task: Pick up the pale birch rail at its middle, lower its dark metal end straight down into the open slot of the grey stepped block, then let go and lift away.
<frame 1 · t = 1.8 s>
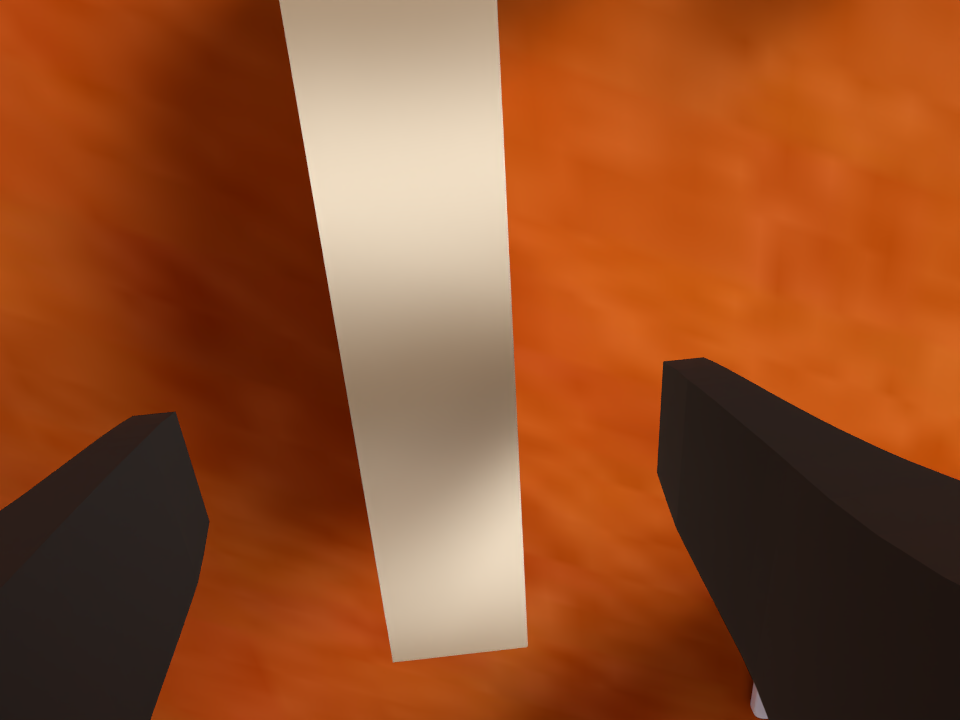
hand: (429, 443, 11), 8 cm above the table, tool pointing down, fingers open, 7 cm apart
birch rail: (424, 262, 19), on the table
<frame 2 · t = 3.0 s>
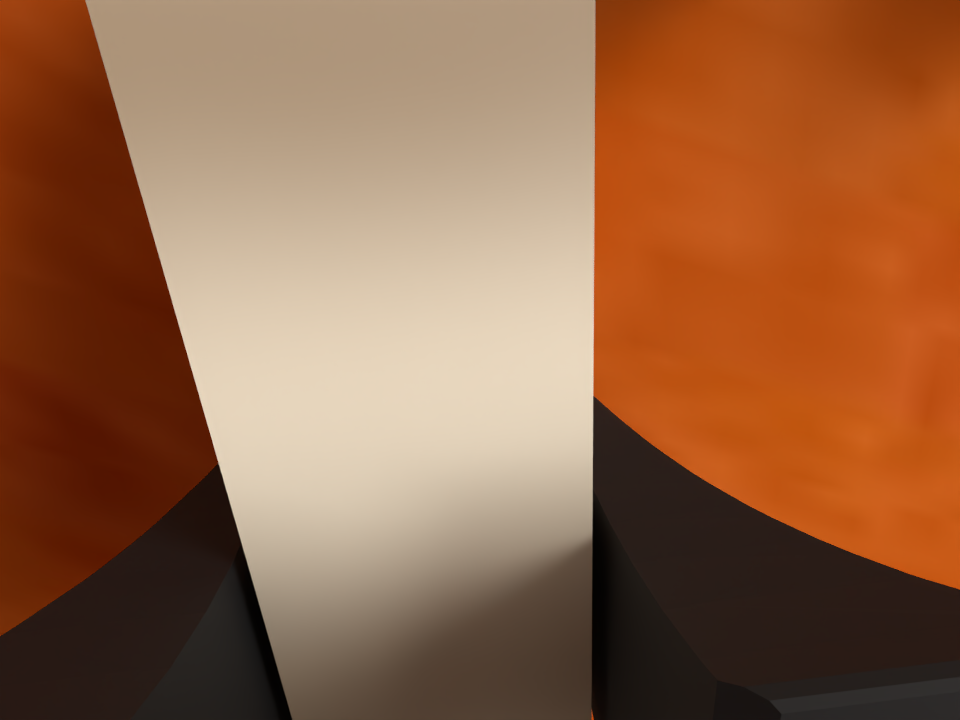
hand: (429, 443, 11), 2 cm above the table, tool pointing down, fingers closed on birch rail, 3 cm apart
birch rail: (428, 402, 13), on the table, touching gripper
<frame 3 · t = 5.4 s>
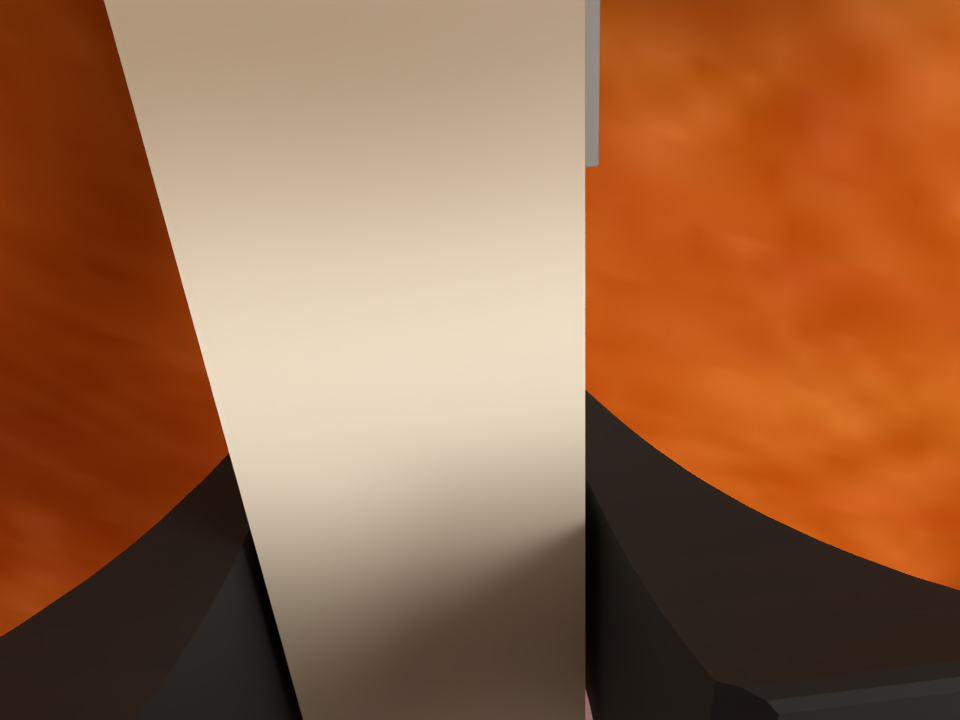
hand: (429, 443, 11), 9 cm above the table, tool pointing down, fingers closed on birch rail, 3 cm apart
birch rail: (427, 388, 13), point 7 cm above the table, touching gripper
grey stepped block: (397, 28, 17), on the table
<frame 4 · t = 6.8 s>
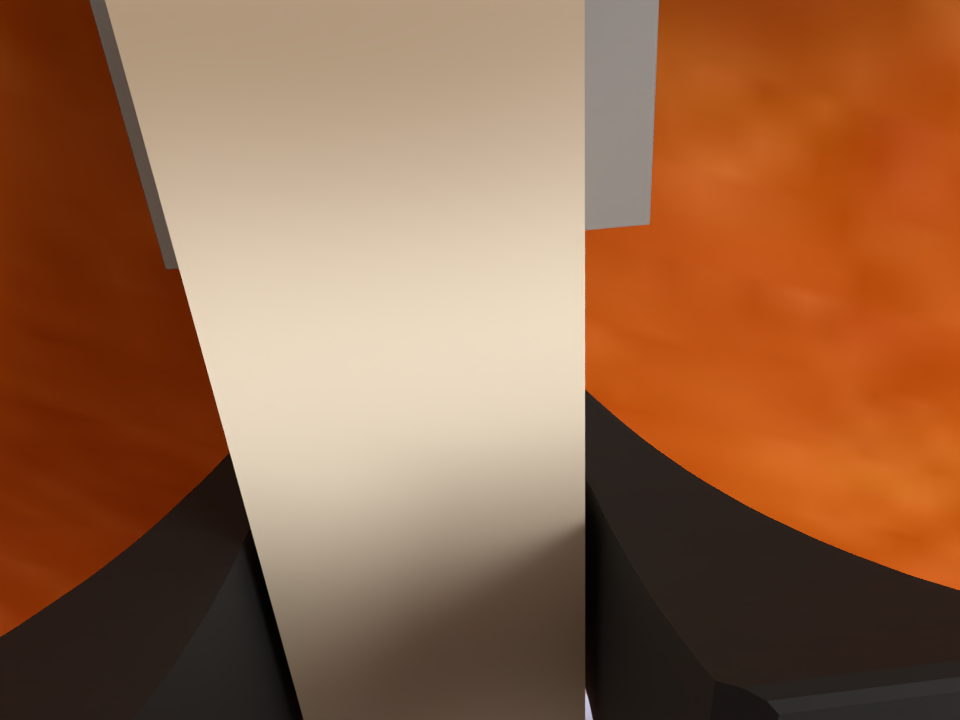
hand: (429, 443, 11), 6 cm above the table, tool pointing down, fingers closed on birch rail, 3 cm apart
birch rail: (427, 387, 13), point 4 cm above the table, touching gripper
grey stepped block: (395, 46, 14), on the table
when the fingers open (2 cm above the table, at t = 7.9 s): birch rail stays where it is, on the table.
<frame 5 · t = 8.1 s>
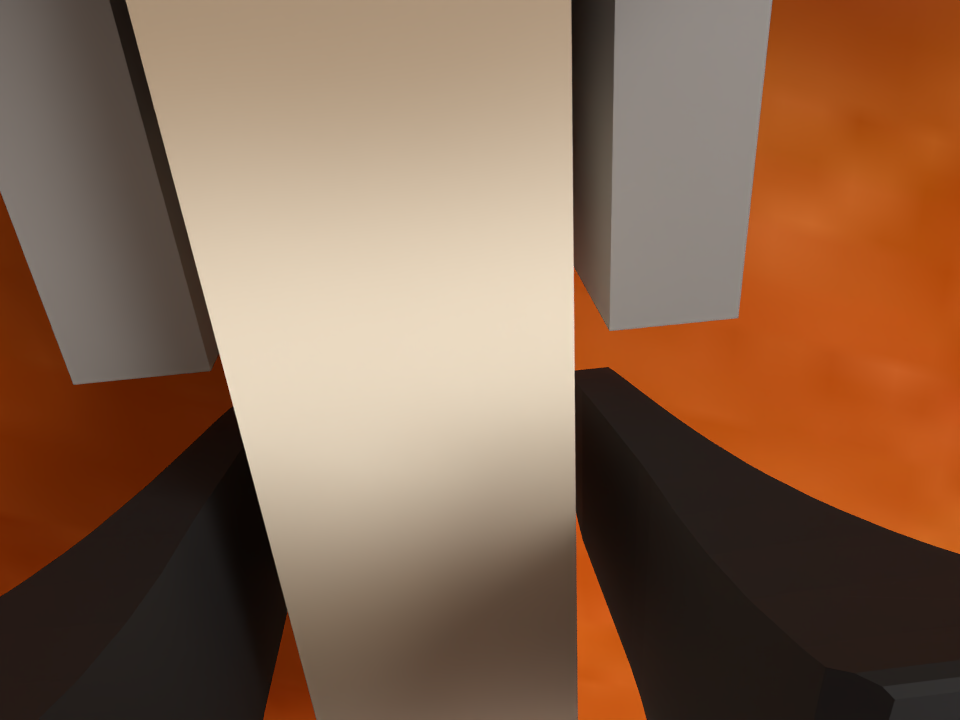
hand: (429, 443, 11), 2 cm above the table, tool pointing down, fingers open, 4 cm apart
birch rail: (427, 376, 13), on the table
grey stepped block: (391, 69, 11), on the table
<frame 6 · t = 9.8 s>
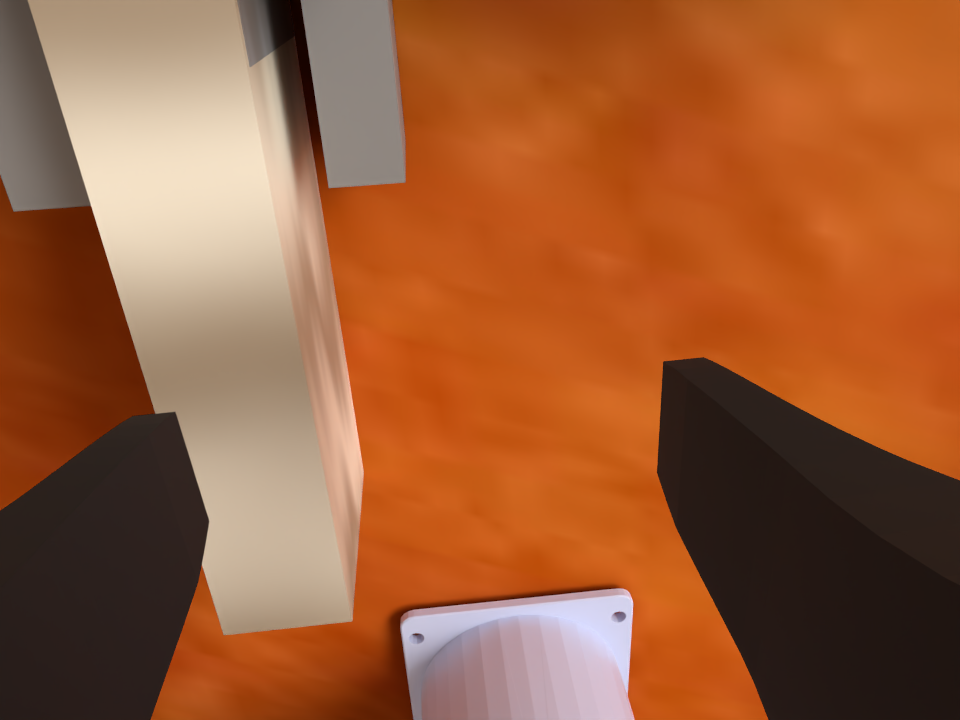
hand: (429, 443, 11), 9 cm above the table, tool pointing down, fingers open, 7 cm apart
birch rail: (272, 258, 20), on the table
grey stepped block: (227, 38, 17), on the table
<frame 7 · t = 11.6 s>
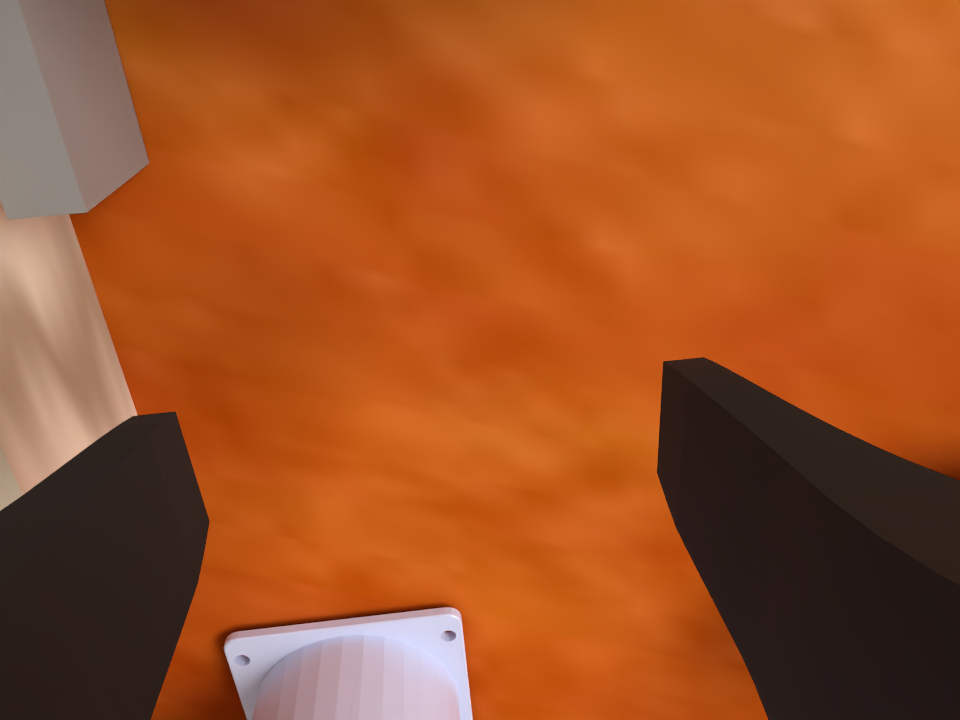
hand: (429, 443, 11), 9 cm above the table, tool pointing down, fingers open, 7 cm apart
birch rail: (36, 289, 19), on the table
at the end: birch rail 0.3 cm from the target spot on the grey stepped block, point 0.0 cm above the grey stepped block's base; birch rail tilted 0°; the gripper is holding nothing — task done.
